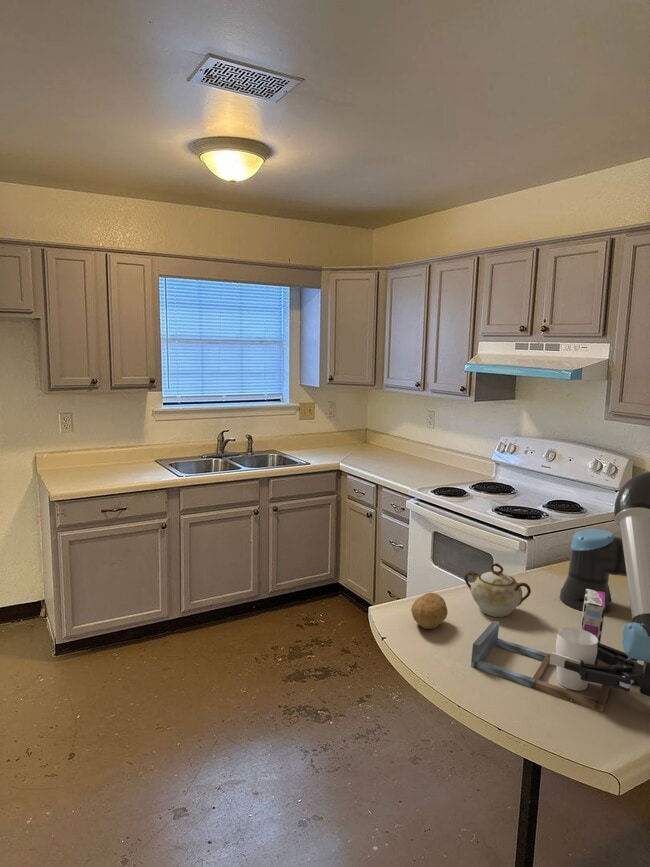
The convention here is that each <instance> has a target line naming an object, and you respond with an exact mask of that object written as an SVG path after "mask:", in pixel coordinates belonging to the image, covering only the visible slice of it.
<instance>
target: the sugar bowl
mask: <svg viewBox="0 0 650 867" xmlns="http://www.w3.org/2000/svg"><path fill="white" fill-rule="evenodd" d="M494 567H497V568H498V569H499V570H495V569H494ZM490 569H491V570H490V571H488V572H483V573H480V574H479V573H477V572H474V571H467V572H466V573H465V575H464V582H465V585H467V586H468V588H469V590H470V593H471V596H472V598H473V600H474V602H475V603H476V605H477V607H478V608H479V610H480V611H481V613H483V614H484V615H487V616H489V617H490V616H491V617H496V618H505V617H508V616H509V615H510V614H511V613H512V612H513V611H514V610H515V609H516V608H517V607H519V606H520V605H522V603H523V602H524V601H525V600H527V599H528V598H529V597H530V595H531V593H532V590H531V586H530V585H529V584H528V583H526V582H518V581H517V580H516V579H515V578H514V577H513V576H511V575H509V574H506V573H504V568H503V566H501V564H500V563H497V562H495V563H493V564H491V566H490ZM469 576H472V577H473V579H472V580H473V581H472V583H471V584H470V582H469V580H468V577H469ZM522 587H524V588H526V589H527V590H526V591H527V592H526V594H525V595H524V596H523V590H522V589H523V588H522Z"/></svg>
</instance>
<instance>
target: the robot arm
mask: <svg viewBox="0 0 650 867" xmlns="http://www.w3.org/2000/svg"><path fill="white" fill-rule="evenodd" d="M613 508H614V520H615V523H616V524H617V525H618V527H620V533H621V537H616V536H614V533H613V532H611V531H609V530H603V529H600V528H588V529H581V530H578V531H576V532H575V533H574V534H573V536H572V541H571V543H570V544H571V545H570V558H569V565H568V573H567V578H566V579H565V581H564V584H563V586H562V587H561V589H560V591H559V599H560V601H561V602H562V603H563V604H564V605H567V606H569V607H571V608H572V609H575V610H579V611H581V612H583V606H584V598H585V592H586V589H590V590H596V591H600V592H605V611H604V613H607V612H609V611H611V610H612V605H613V604H612V603H613V599H612V594H611V590H610V586H609V579H610V576H620V577H626V580H627V581H626V582H627V587H628V589H627V590H628V596H629V602H630V603H629V605H630V611H631V620H632V622H626V624H625V625H624V627H623V630H622V645H623V646H622V648H623V650H624V651H621V650H618V649H616V648H614V647H611V646H608V645H606V644H603V643H601V642H600V643H598V644H597V655H596V659H598V661H600V662H602V663H604V664H605V665H602V664H601V665H600V664H597V665H593V664H584V662H583V660H581V661H580V660H577V659H574V658H570V657H567V656H564V655H561V654H557V653H556V652H554V651H550V663H549V665H551V666H555V667H557V666H558V667H561V668H564V669H567V670H571V671H574V672H577V673H579V675H580V676H581V678H580V679H581V680H583V681H588V683H593V684H598V685H601V686H602V685H606V686H610V687H611V688H616V689H618V690H622V691H625V692H627V693H628V692H630V690H631V687H638V688H639V693H640V694H641V695H643V696H646V697H649V698H650V471H645V472H642V473H638V474H637V475H634V476H632V477H631V478H630V479H628V480H627V481H626V482H625V483H624V485H622V487H621V488H620V490H619V492H618V493H617V496H616V499H615V502H614V506H613ZM638 661H641V662H643V664H642V663H641V664H640V662H638Z"/></svg>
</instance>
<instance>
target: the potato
mask: <svg viewBox="0 0 650 867" xmlns="http://www.w3.org/2000/svg"><path fill="white" fill-rule="evenodd" d="M410 611H411V614H412V618H413V620H414V621H415V622H416V624H417V625H418V626H419V627H421V628H423V629H425V630H429V629H430V630H431V629H435V628H437V627H438V626H439V625H440V624H442V623H443V622H444V621H445V619H447V615H448V612H449V611H448V607H447V604H446V601H445V599H444V598H443V597H442V596H441V595H440V594H438V593H435V592H426V593H425V594H423V595H421V596H420V597H418V598H417V599H415V600H414V602H413V604H411V608H410Z"/></svg>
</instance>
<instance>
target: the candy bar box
mask: <svg viewBox="0 0 650 867" xmlns="http://www.w3.org/2000/svg"><path fill="white" fill-rule="evenodd" d="M604 611H605V592H600V591H596V590H590V589H586V592H585V598H584V606H583V611H582V613H581V614H582V615H581V622H580V628H579V629H582V630H585V631H588V632H590V633H592V634H593V635H594V636H596V638H597V639H598V643H601V641H602V634H603V626H604V617H605V612H604ZM598 661H599V660H598V659H595V662H594V665H598Z"/></svg>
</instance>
